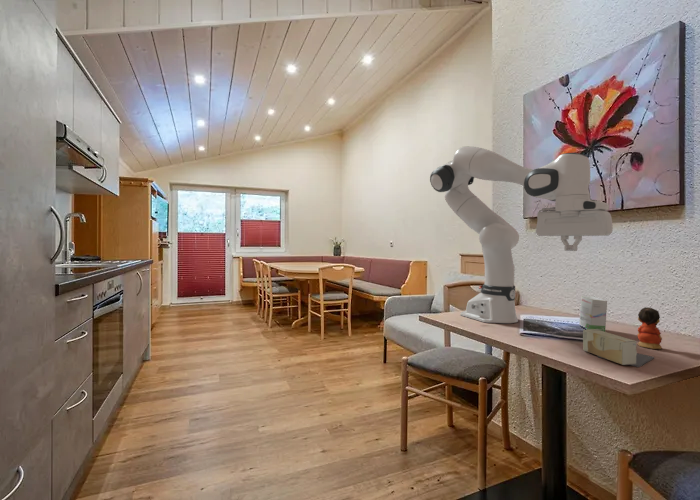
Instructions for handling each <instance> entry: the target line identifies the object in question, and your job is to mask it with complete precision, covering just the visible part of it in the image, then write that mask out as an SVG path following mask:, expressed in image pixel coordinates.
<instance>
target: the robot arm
mask: <svg viewBox="0 0 700 500" xmlns="http://www.w3.org/2000/svg"><path fill="white" fill-rule="evenodd" d="M452 157H453V158H452V160H450V161H448V162H446V163H445V164H443V165H441V166H439V167H437V168H435V169H434V170H433V171H432V172H431V173H430V177H429V182H430V185H431V187H432V189H433V190H435V191H436V192H438V193H445V194H444V199H445V201H446V203H447V205H448V206H449V208H450V209H451V210H452V211H453V212H454V213H455V215H456V216H457V217H458V218H459V219H460V220H462V221H463V223H465V225H467V226H468V228H469V229H471V230H473V231H474V232H476V233H477V234H478V240H479V243H480V244H481V250H482V251H481V252H482V256H483V262H484V283H483V284H482V285H478V289H479V290H480V292H479V293H478V294H476V295H475V296H474V297H472V298H471V299H469V300H468V301H467V304H466V309H465V310H463V311H461V312H460V316H463V317H466V318H469V319H472V320H476V321H480V322H483V323H488V324H489V323H493V324H494V323H495V324H496V323H497V324H513V323H518V322H519V320H518V316H517V311H516V305H515V303H516V302H515V300H516V286H515V264H514V260H513V255H512V254H513V253H512V250H513V249H514V248H515V247H516V246H517V245H518V243H519V239H520V235H519V232H518V231H517V229H515V227H513V225H511V224H510V223H509V222H508V221H506V220H505V219H504V218H502V217H501V216H500V215H499V214H498V213H496V212H495V211H493V210H492V209H491V208H490V207H489V206H487V204H486V203H484V201H482V200H481V199H480V198H479V197H478V196H477V195H476V194H475V193H473V192H472V190H470V188H469V186H470V185H472V184H473V183H474V179H475V178H476V179H479V180H484V181H491V182H505V183H513V184H517V185H520V186H523V189H524V191H525V193H526V194H528V196H530V197H533V198H538V199H543V200H548V201H551V202H555V206H554V207H543V208H541V209H540V210H538V212H537V214H536V215H537V216H536V218H537V222H536V226H535V228H536V229H535V234H536V235H537V237H560V241H561V243H562V244H563V245H564V251H566V252H568V251H569V252H577V251H578V245H580V243H581V241H582V240H583V237H584V236H585V237H586V236H587V237H589V236H590V237H593V236H594V237H596V236H597V237H599V236H604V237H605V236H611V235H612V233H613V218H612V214H611V213H610V212H609V209H610V205H609V203H608V202H604V201H598V200H596V199H591V193H590V190H589V189H590V188H589V187H590V183H591V165H590V164H591V163H590V159H589V157H588V156H587V155H585V154H582V153H579V152H578V153H576V152H564V153H561V154H560V155H558V156H557V158H555V159H554V160H552V161H551V162H549V163H547V164H545V165H543V166H540V167H538V168H534V169H532V168H528V167H525V166H522V165H520V164H518V163H515V162H514V161H512V160H510V159H508V158H506V157H504V156H502V155H500V154H499V153H496V152H494V151H492V150H490V149H486V148H482V147H477V146H462V147H459V148H458V149H457V150H456V151H455V152H454V154H453V156H452ZM570 237H573V240H574V242H573V244H570V243H569V241H568V240H569V239H570Z"/></svg>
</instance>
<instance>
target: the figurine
mask: <svg viewBox="0 0 700 500" xmlns="http://www.w3.org/2000/svg"><path fill="white" fill-rule="evenodd" d="M660 319H661V315H660V312H659V310H657V309H654V308H653V307H647V306H646V307H643V308H641V309H640V311H639V312H638V314H637V320H638V321H639V322H640V323H642V324H641V325H639V327H637V332H638V333H637V338H638V340H639V341H638V342H637V346H639V347H641V348H648V349H652V350H662V349H663V347H662V346H661V343H662V340H663V337H662V336H661V334H662V332H661V331H660V329H659V328H658V327H657V325H658V324H659V323H660V321H661V320H660Z"/></svg>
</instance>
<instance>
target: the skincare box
mask: <svg viewBox="0 0 700 500" xmlns="http://www.w3.org/2000/svg"><path fill="white" fill-rule="evenodd" d="M637 344H638V342H637V341H636V340H634V339H630V338H627V337H623V336H621V335H619V334H618V335H617V334H613V333H610V332H607V331H605V332H604V331H601V330H597V329H586V330H585V329H583V331H582V350H583V351H584V352H588V353H591V354H593V355H596V356H597V357H598V356H600V357H603V358H606V359H605V360H607V359H608V360H607V361H611V362H613V363H617V364H619V365H622V366H632V365H634V364H636V355H637V353H638V352H637V351H638V350H637ZM603 358H602V359H603Z"/></svg>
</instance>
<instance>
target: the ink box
mask: <svg viewBox="0 0 700 500" xmlns="http://www.w3.org/2000/svg"><path fill="white" fill-rule="evenodd" d="M579 308H580V309H579V311H580V312H579V325H581V326H583V327H585V328H587V329H597V330H601V331H604V332H606V326H607V325H606V323H607V310H608V300H605V299H603V298H600V297H599V296H587V295H582V296H581V297H580V307H579ZM579 325H578V326H579Z"/></svg>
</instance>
